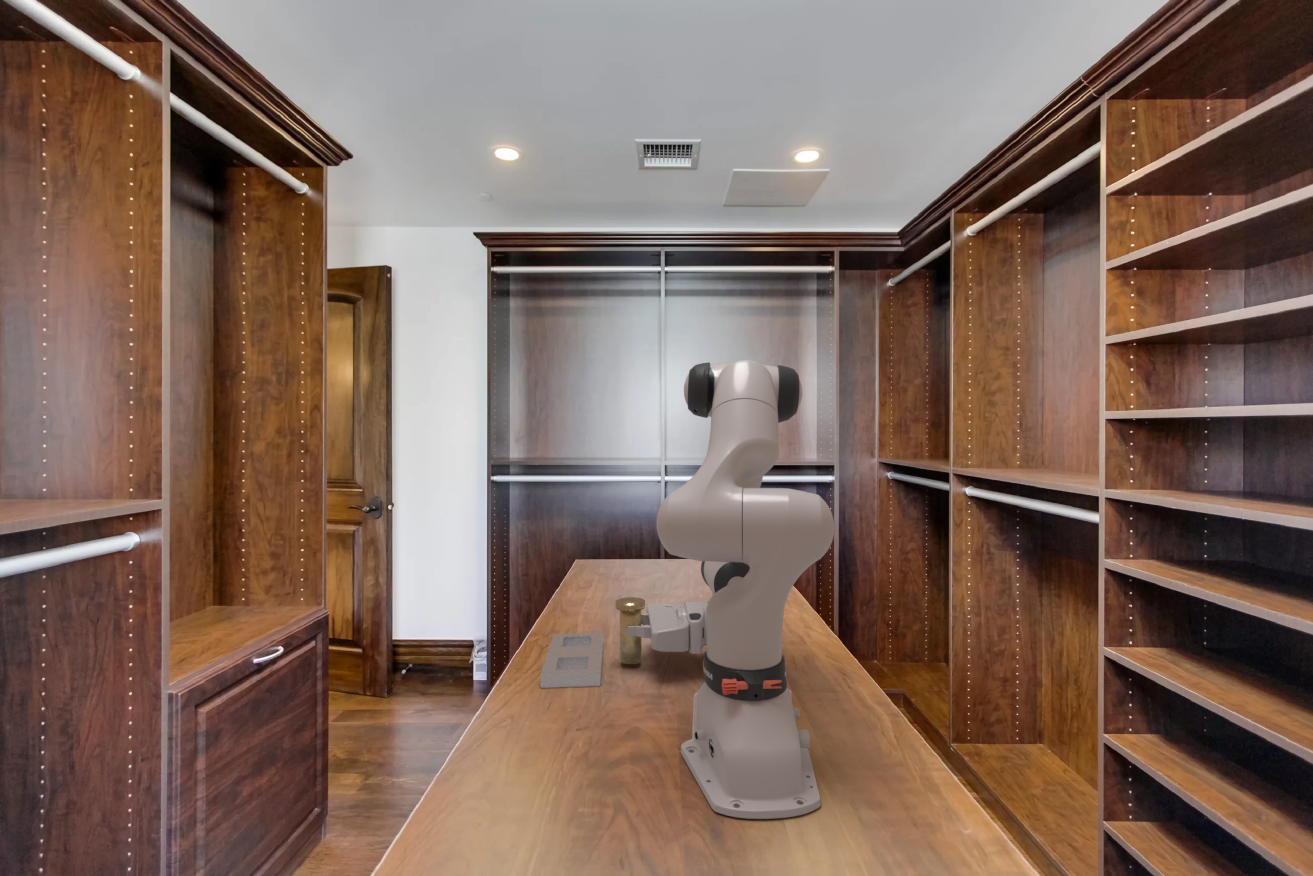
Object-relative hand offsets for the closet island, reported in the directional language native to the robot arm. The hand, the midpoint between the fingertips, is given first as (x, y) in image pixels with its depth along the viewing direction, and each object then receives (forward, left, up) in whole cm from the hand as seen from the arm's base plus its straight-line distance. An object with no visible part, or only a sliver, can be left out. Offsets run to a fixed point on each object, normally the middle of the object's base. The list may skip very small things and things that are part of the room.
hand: (626, 625), depth 118 cm
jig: (+1, +11, -8) cm, 13 cm away
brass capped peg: (0, -1, -7) cm, 7 cm away
